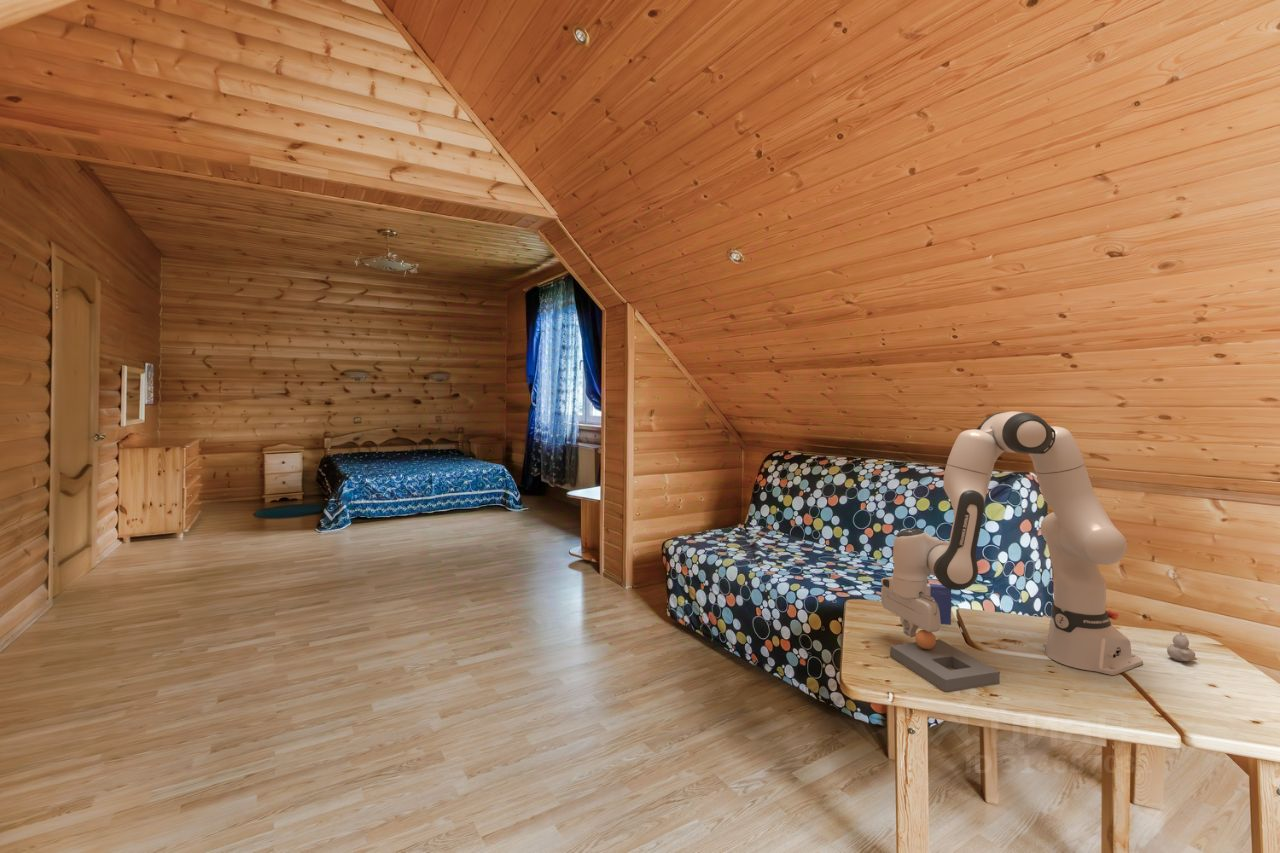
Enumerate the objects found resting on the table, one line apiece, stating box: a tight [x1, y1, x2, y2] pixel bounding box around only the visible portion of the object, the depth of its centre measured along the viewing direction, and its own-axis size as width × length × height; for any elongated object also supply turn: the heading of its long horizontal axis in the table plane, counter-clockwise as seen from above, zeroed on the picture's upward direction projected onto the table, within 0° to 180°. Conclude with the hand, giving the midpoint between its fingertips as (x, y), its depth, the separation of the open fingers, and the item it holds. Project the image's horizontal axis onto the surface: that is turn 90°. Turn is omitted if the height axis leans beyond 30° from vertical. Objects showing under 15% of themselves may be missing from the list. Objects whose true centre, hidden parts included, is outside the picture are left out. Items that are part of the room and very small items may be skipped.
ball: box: [915, 629, 937, 649], centre depth 156 cm, size 5×5×5 cm
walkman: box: [927, 583, 952, 626], centre depth 181 cm, size 8×3×12 cm, turn 70°
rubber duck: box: [1166, 630, 1196, 663], centre depth 153 cm, size 5×7×8 cm
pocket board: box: [889, 638, 1001, 693], centre depth 150 cm, size 16×20×3 cm
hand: (909, 635), depth 162 cm, fingers closed
